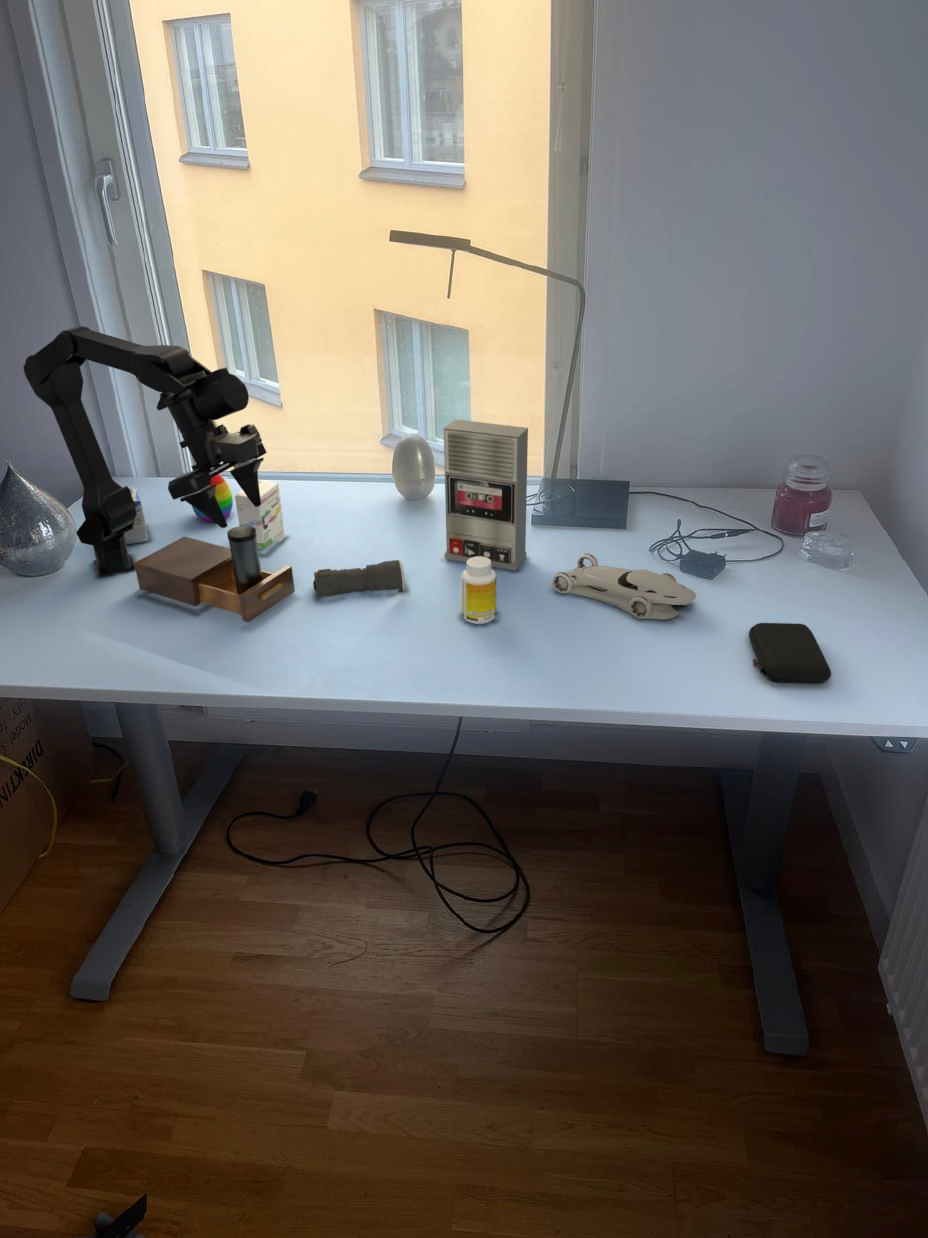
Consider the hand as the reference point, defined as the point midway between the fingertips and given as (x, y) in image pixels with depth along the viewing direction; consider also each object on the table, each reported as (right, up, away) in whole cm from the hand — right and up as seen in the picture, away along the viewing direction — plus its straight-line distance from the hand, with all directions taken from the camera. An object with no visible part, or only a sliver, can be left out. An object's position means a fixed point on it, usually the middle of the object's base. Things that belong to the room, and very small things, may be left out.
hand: (242, 516), depth 153 cm
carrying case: (+85, -23, -12) cm, 89 cm away
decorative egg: (-15, +4, +38) cm, 41 cm away
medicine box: (-28, -1, +31) cm, 42 cm away
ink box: (-2, -3, +26) cm, 26 cm away
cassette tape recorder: (+40, -6, +19) cm, 45 cm away
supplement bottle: (+39, -17, +1) cm, 42 cm away
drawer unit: (-11, -12, +11) cm, 19 cm away
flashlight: (+19, -13, +9) cm, 24 cm away
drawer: (-1, -14, +5) cm, 15 cm away
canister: (+1, -14, +4) cm, 14 cm away
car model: (+64, -13, +6) cm, 66 cm away
